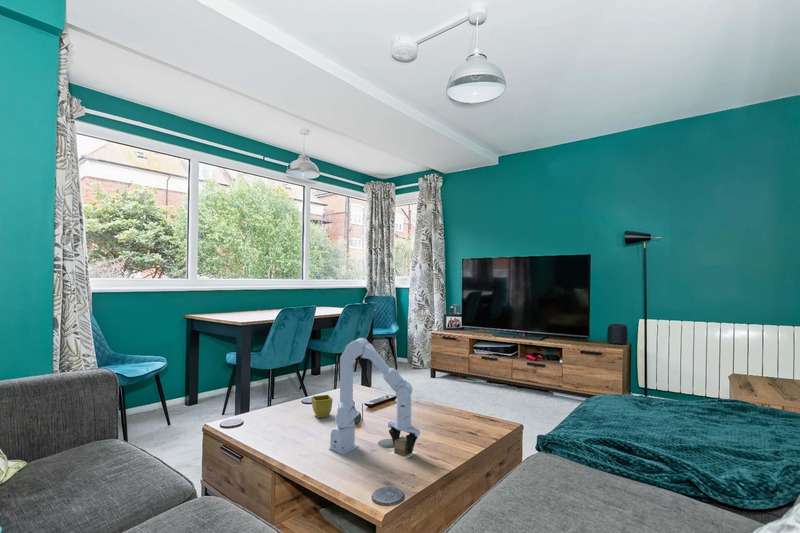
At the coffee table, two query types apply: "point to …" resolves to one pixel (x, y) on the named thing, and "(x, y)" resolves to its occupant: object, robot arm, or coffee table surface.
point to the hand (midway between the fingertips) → (403, 449)
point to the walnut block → (401, 446)
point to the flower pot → (322, 405)
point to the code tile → (403, 456)
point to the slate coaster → (386, 443)
